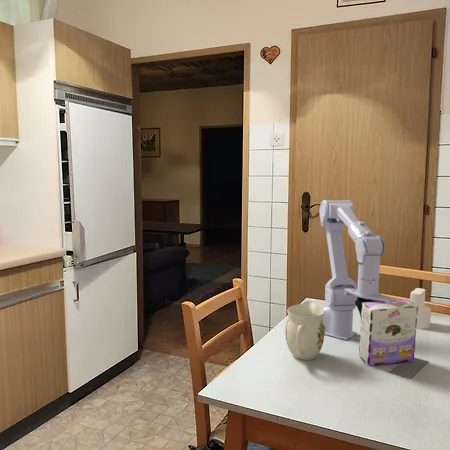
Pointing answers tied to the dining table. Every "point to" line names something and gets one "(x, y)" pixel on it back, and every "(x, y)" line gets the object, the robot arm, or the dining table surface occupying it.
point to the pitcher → (305, 330)
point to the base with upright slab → (421, 308)
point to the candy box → (388, 332)
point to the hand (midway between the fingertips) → (366, 324)
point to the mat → (409, 368)
